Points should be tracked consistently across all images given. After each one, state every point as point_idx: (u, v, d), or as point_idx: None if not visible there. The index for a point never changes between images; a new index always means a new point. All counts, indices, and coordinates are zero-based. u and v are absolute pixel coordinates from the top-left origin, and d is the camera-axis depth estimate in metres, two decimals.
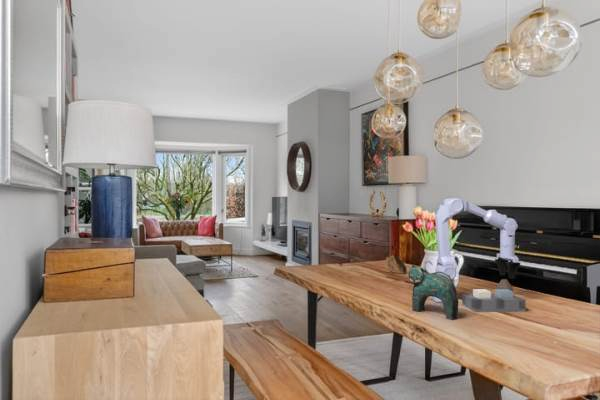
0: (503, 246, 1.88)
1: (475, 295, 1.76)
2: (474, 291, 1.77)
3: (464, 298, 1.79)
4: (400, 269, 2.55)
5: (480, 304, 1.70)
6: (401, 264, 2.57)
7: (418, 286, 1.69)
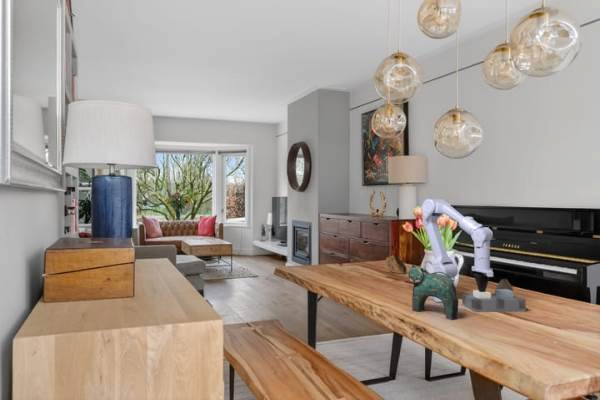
0: (477, 259, 1.74)
1: (475, 296, 1.76)
2: (474, 292, 1.77)
3: (464, 298, 1.79)
4: (400, 269, 2.55)
5: (480, 304, 1.70)
6: (401, 264, 2.57)
7: (418, 286, 1.69)
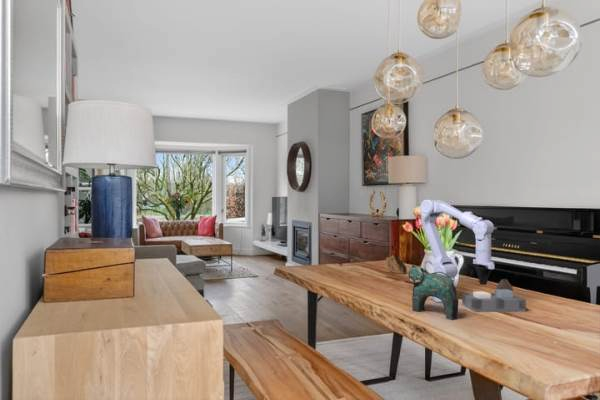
0: (478, 251, 1.74)
1: None
2: (474, 293, 1.77)
3: (464, 298, 1.79)
4: (400, 269, 2.55)
5: (480, 304, 1.70)
6: (401, 264, 2.57)
7: (418, 286, 1.69)
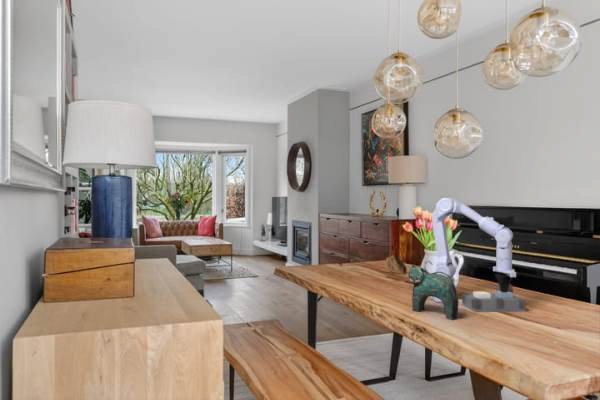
0: (499, 259, 1.75)
1: None
2: (474, 293, 1.77)
3: (464, 298, 1.79)
4: (400, 269, 2.55)
5: (480, 304, 1.70)
6: (401, 264, 2.57)
7: (418, 286, 1.69)
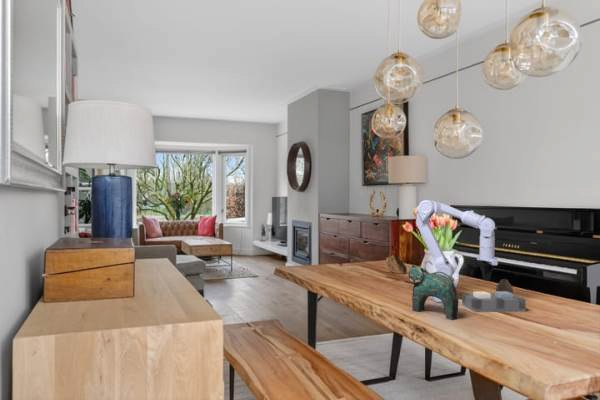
0: (482, 248, 1.81)
1: None
2: (474, 293, 1.77)
3: (464, 298, 1.79)
4: (400, 269, 2.55)
5: (480, 304, 1.70)
6: (401, 264, 2.57)
7: (418, 286, 1.69)
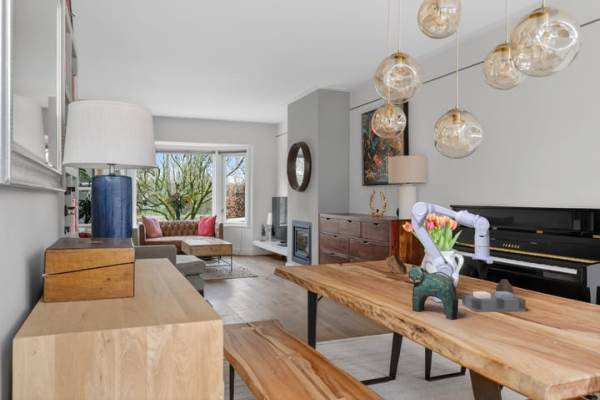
0: (477, 247, 1.82)
1: None
2: (474, 293, 1.77)
3: (464, 298, 1.79)
4: (400, 269, 2.55)
5: (480, 304, 1.70)
6: (401, 264, 2.57)
7: (418, 286, 1.69)
